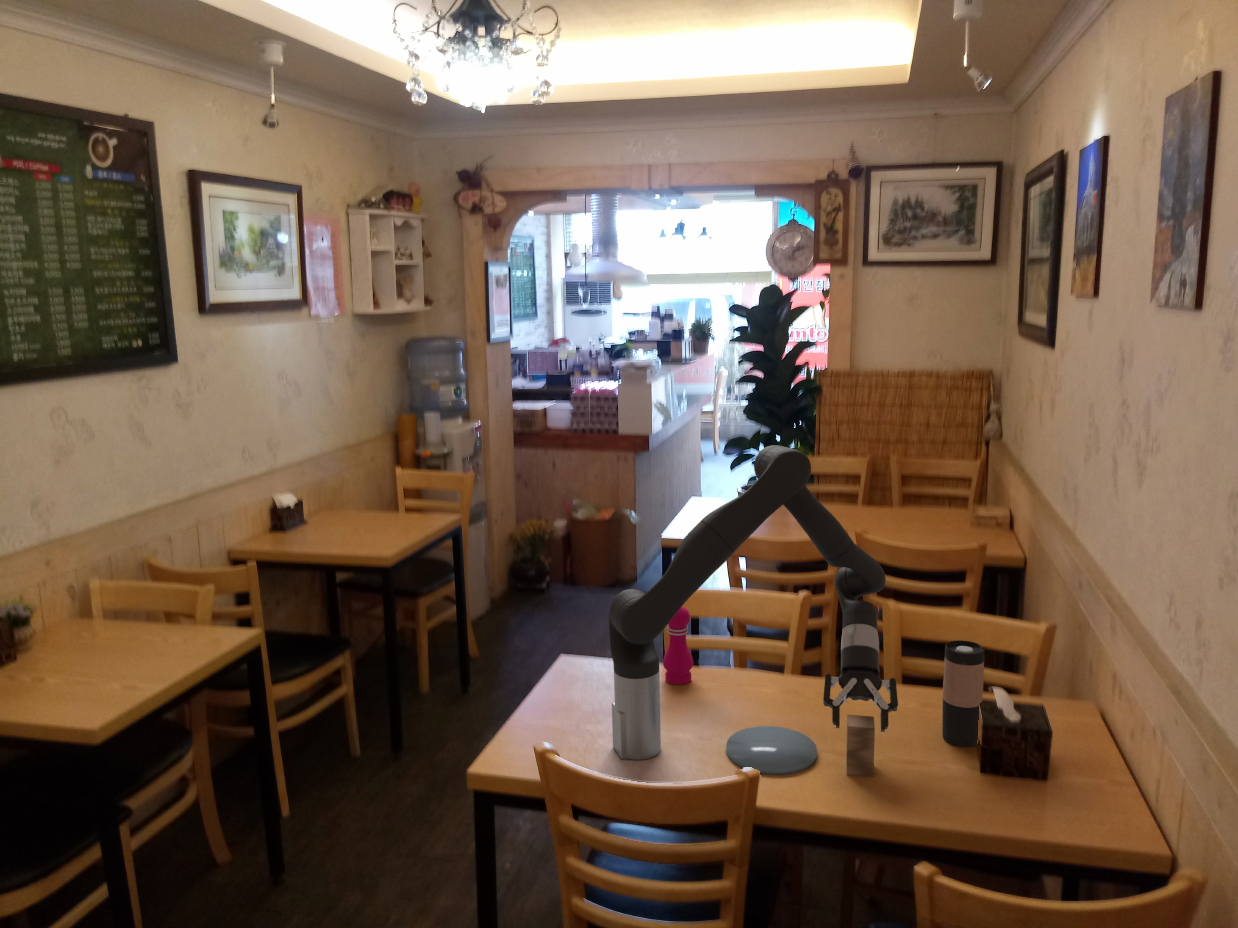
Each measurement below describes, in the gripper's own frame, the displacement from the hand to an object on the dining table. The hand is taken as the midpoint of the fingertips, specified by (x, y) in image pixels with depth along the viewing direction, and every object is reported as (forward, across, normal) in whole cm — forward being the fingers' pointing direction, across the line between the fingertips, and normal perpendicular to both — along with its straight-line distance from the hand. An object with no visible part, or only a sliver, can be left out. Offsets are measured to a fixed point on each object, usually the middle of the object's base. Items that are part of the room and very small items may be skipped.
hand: (860, 728), depth 181 cm
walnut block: (+7, 0, +4) cm, 8 cm away
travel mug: (-5, +20, +15) cm, 26 cm away
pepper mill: (-19, -42, +29) cm, 54 cm away
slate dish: (+4, -17, +6) cm, 19 cm away
